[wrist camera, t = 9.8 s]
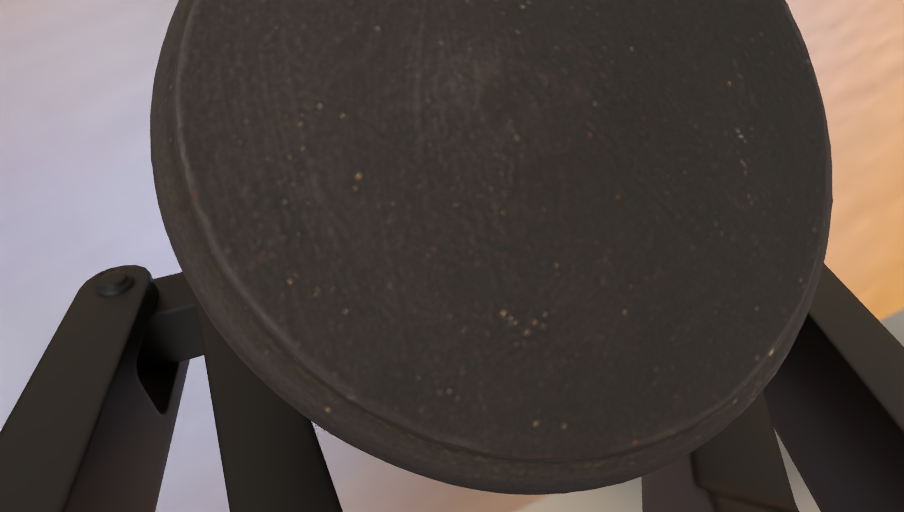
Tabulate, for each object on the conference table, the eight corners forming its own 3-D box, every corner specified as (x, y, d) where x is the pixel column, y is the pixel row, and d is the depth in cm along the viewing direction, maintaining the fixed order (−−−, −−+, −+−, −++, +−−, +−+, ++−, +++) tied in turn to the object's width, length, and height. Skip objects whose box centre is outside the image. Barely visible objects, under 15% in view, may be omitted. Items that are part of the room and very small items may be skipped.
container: (494, 180, 25) (787, -300, 6) (529, 341, 24) (1034, 435, 5) (337, 206, 24) (38, -264, 5) (366, 376, 23) (139, 681, 4)
